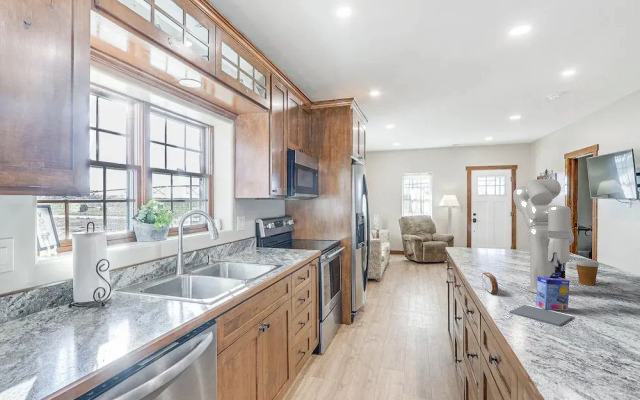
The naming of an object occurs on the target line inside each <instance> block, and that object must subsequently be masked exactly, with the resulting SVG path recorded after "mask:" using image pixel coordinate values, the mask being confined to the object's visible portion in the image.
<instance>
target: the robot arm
mask: <svg viewBox="0 0 640 400" xmlns="http://www.w3.org/2000/svg"><path fill="white" fill-rule="evenodd" d="M561 190H562V186H561V183H560V182H559V181H558V180H556V179H552V178H550V179H548V178H546V179H532V180H529V181H528V182H526V183H525V185H524V186H520V187H517V188H515V189H514V191H513V193H512V199H513V202H514V205H515V207H516V209H518V211H519V212H520V213H521V215H522V217H523V219H524V222H525V225H526V226H527V228H528V231H527V238H528V243H529V256H530V257H529V259H530V260H529V264H530V265H529V266H530V270H529V271H530V272H529V273H530V276H529V277H530V280H529V281H530V285H528V286H526V290H527V292H529V293H530V292H531V293H534V294H537V277H538V276H547V277H550V276H551V274H552V273H561V274H560V276H559V278H563V279H566V266H567V265H566V264H567V263H568V262H570V257H571V256H570V253H571V252H570V246H572V244H573V243H574V242H575V237H574V233H573V229H572V225H571V224H572V215H571V212H572V211H571V208H570V207H569V206H567V205H550V204H551V203H552V201H554V199H555V198H557V197H558V196H559V195H560V193H561ZM552 276H558V275H557V274H555V275H552Z"/></svg>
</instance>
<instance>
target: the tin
mask: <svg viewBox="0 0 640 400" xmlns="http://www.w3.org/2000/svg"><path fill="white" fill-rule="evenodd" d="M481 278H482V286H483V288H484V290H485V291H487V292H488V293H489V294H491V295H497V294H498V292H499V285H498V280H497V278H496V276H494V275H493V274H492V273H491V272H490V271H489V272H483V273H482V275H481Z"/></svg>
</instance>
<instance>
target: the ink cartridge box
mask: <svg viewBox="0 0 640 400" xmlns="http://www.w3.org/2000/svg"><path fill="white" fill-rule="evenodd" d="M555 274H557V275H558V276H552V275H555ZM560 274H561V273H552V274H551V276H550V277H547V276H538V277H537V293H536V299H535V300H536V301H535V302H536V303H535V305H536V306H535V307H539V308H543V309H545V310H552V311H568V310H569V299H570V298H569V295H570V294H569V293H570V280H569V279H567V278H565V279H563V278H559V276H560Z"/></svg>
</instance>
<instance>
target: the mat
mask: <svg viewBox="0 0 640 400" xmlns="http://www.w3.org/2000/svg"><path fill="white" fill-rule="evenodd" d="M509 313H510V314H513V315H515V316H521V317H523V318H528V319H532V320H535V321H539V322H543V323H547V324H549V325H554V326H557V327H561V326H562V325H564V324H566V323H567V322H570V320H573V318H574V315H573V314H568V313H563V312H559V311H557V310H545V309H543V308H541V307H539V306H534V305H530V304H523V305H521V306H519V307H517V308H514V309H512V310H510V311H509Z"/></svg>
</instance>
